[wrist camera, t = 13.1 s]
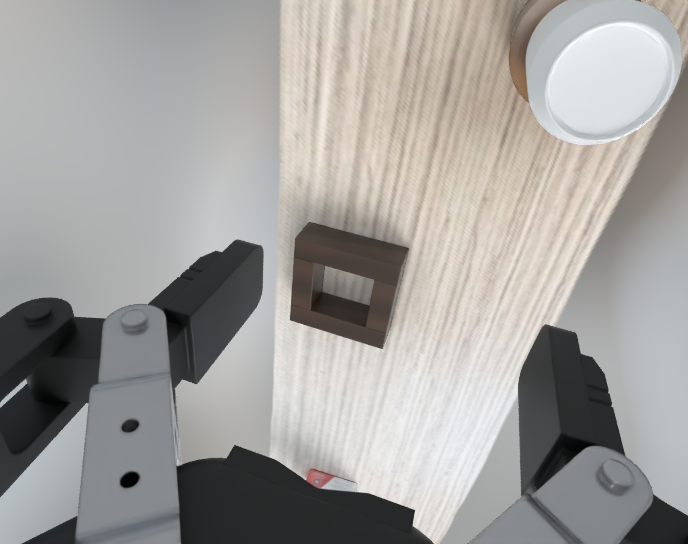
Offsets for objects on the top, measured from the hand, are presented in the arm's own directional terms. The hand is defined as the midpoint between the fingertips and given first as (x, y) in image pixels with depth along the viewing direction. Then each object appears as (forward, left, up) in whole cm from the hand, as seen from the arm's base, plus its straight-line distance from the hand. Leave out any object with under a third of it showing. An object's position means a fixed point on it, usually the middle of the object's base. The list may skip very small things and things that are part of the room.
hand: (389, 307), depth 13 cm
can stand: (+25, -2, -33) cm, 41 cm away
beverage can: (-6, +4, -25) cm, 26 cm away
